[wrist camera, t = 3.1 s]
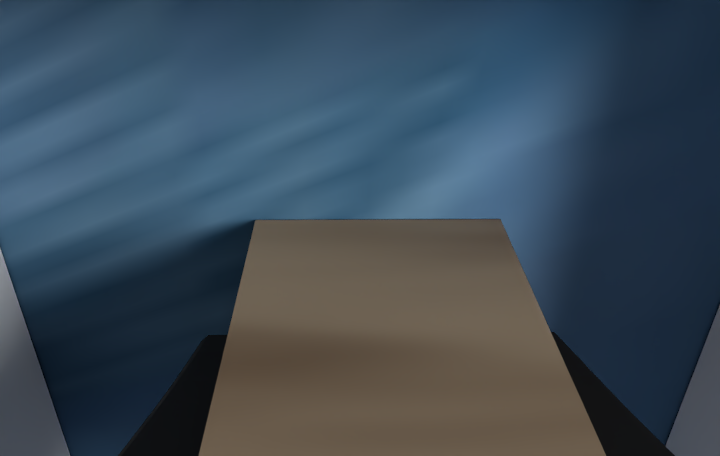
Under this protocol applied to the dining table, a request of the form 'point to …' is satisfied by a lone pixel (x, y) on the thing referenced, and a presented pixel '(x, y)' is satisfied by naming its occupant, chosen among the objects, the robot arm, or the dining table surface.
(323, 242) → the oak block
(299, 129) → the dining table surface
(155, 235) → the dining table surface
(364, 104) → the dining table surface
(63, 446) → the white square frame
